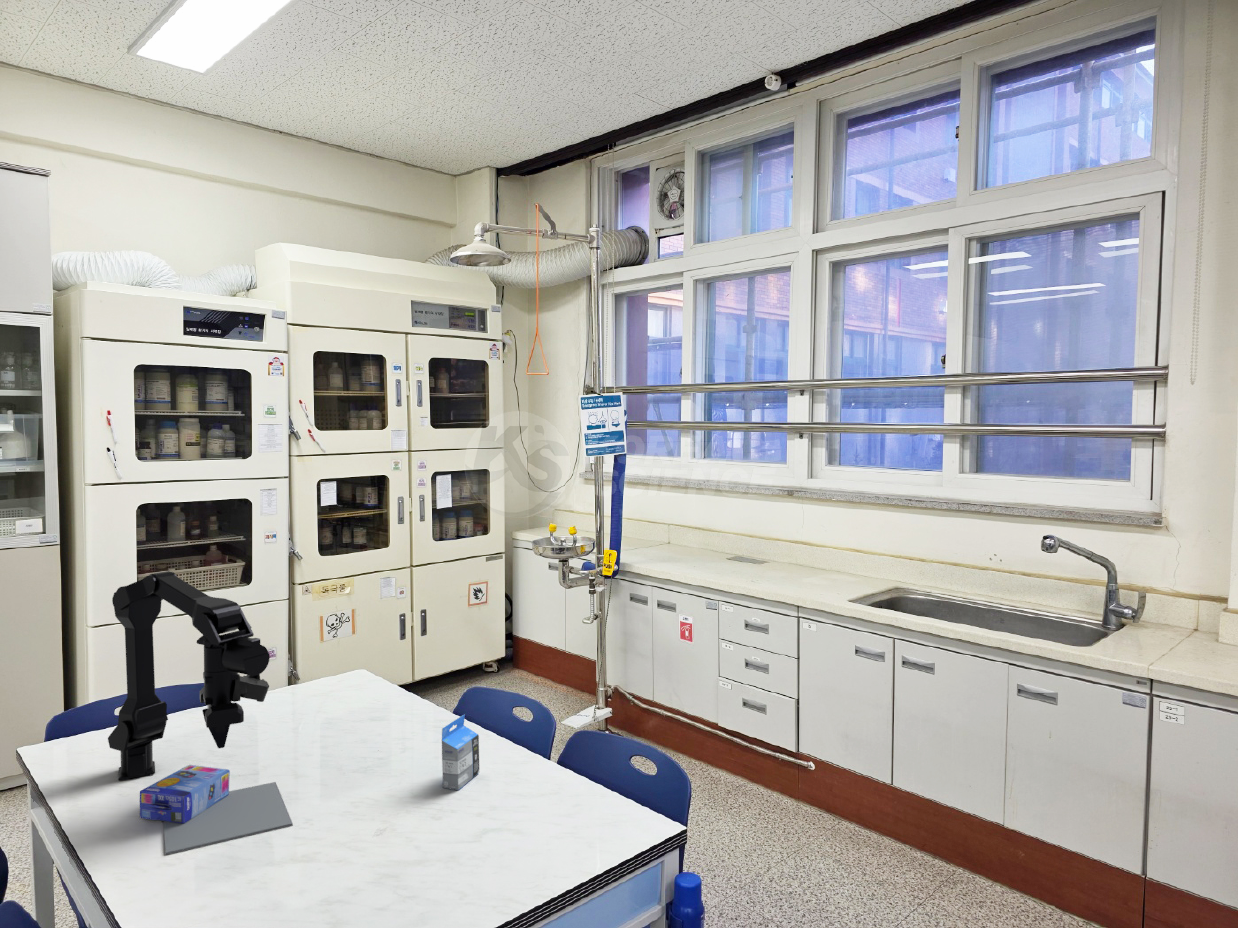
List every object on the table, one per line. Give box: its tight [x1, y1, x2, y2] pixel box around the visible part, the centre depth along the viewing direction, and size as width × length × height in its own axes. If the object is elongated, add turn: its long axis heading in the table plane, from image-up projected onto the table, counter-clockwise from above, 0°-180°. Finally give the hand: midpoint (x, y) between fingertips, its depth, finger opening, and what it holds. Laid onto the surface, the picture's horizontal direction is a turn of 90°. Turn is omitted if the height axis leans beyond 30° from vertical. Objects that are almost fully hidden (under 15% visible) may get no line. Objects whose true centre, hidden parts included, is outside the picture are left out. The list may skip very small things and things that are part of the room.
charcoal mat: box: [162, 781, 293, 856], centre depth 147 cm, size 20×20×1 cm
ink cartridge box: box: [139, 764, 231, 824], centre depth 148 cm, size 10×6×14 cm
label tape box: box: [441, 713, 480, 791], centre depth 163 cm, size 9×4×12 cm, turn 161°
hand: (221, 747), depth 154 cm, fingers closed
